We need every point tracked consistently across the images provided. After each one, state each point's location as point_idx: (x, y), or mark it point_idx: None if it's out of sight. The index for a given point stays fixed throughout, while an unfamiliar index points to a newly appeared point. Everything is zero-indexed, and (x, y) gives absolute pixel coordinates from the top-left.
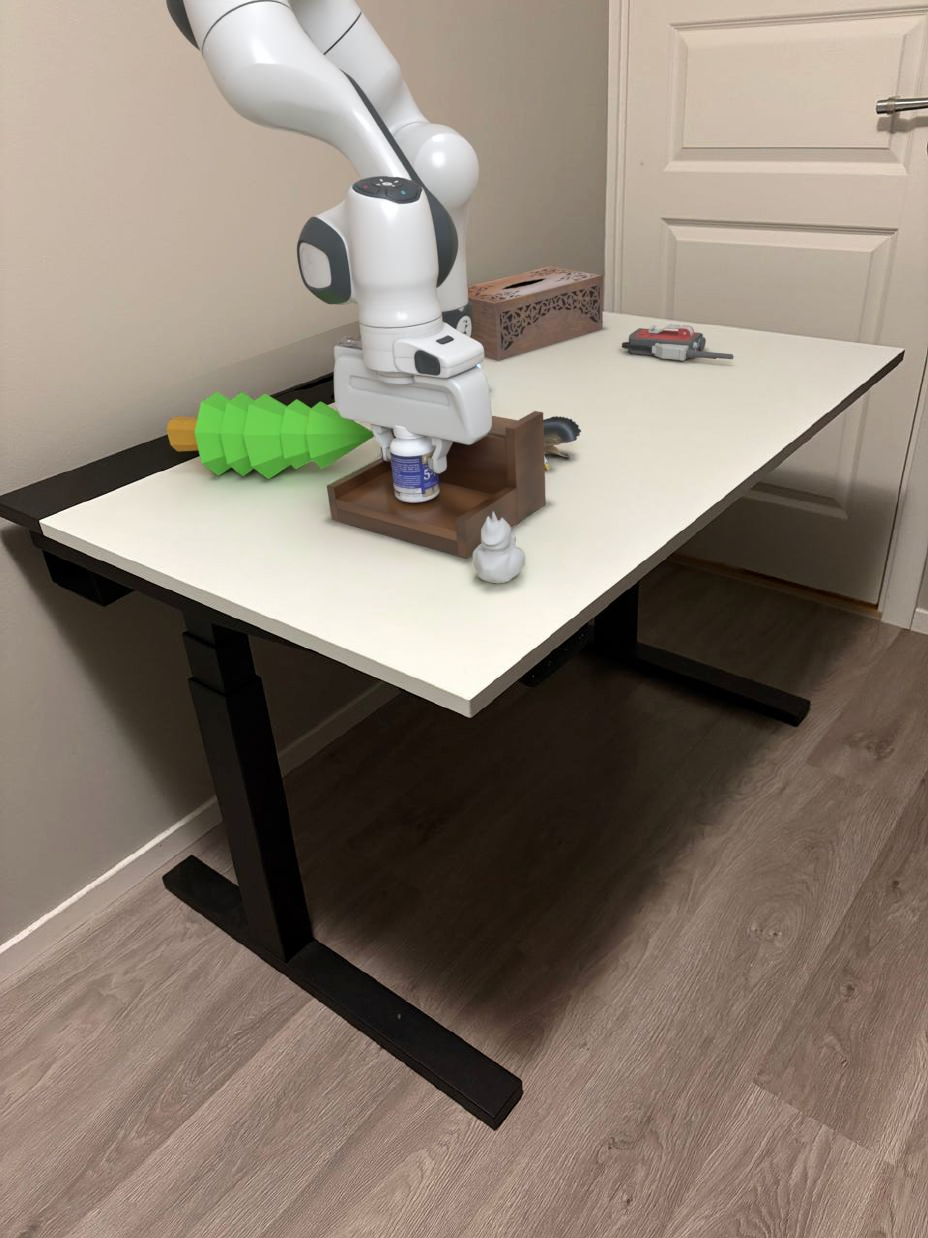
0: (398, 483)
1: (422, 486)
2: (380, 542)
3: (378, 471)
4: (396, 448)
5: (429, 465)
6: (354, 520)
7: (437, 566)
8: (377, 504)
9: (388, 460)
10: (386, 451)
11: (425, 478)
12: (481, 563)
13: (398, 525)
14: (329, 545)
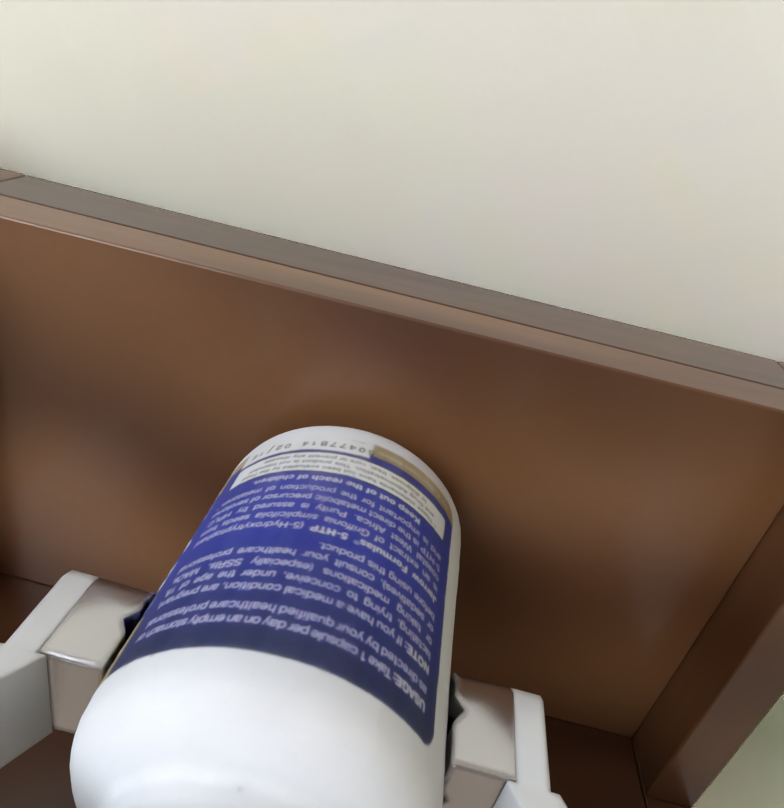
0: (365, 497)
1: (220, 500)
2: (455, 207)
3: (671, 709)
4: (288, 723)
5: (108, 614)
6: (670, 345)
7: (46, 41)
8: (532, 409)
9: (497, 687)
10: (504, 751)
11: (188, 545)
12: None
13: (357, 283)
14: (739, 85)
